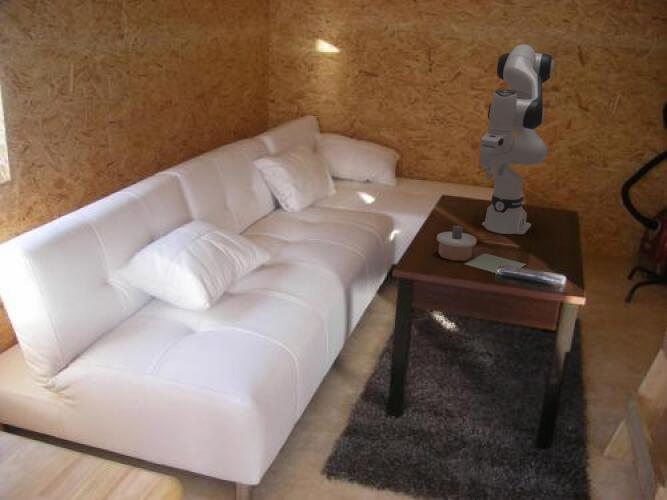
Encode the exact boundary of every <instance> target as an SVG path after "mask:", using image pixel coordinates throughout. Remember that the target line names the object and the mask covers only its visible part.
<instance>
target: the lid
mask: <svg viewBox="0 0 667 500" xmlns="http://www.w3.org/2000/svg"><path fill="white" fill-rule="evenodd" d="M463 229H464V227H463V226H461V225H453V226H452V231H443V232H440V233H438V234H437V236H436V241H437V242H438V243H442V244H444V245H448V246H453V247H470V246H475V245H477V238H476V236H473V235H472V234H469V233H465V232H464V231H463Z"/></svg>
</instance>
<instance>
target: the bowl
mask: <svg viewBox="0 0 667 500" xmlns="http://www.w3.org/2000/svg"><path fill="white" fill-rule="evenodd" d="M438 243H439V244H438V245H439V246H438V251H437V252H438V255H439V256H440V257H441V258H443V259H446V260H450V261H467V260H469V259H472V254H473V246H470V247H453V246H448V245H444V244H442V243H440V242H438Z"/></svg>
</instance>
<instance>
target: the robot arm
mask: <svg viewBox="0 0 667 500" xmlns="http://www.w3.org/2000/svg"><path fill="white" fill-rule="evenodd" d="M553 59H554V58H553V56H552V55H551V54H548V53H538V52H535V50H534V48H533V47H532V46H530V45H529V44H518V45H516V46H515V47H514V48H513V49H512V50H511V52H506V53H503V54H501V55H500V56H499V57H498V59H497V62H496V65H495V71H496V75H497V77H498V78H499V79H500V80H503V81H504V83H505V84H506V85H507V86H508V87H509V89H508V88H505V89H504V88H501V89H497V90H495V91H494V93H493V95H492V99H491V102H490V104H489V106H488V111H487V113H488V114H487V118H488V120H489V123H488V126H487V131H486V132H485V134H484V135H483V136H482V137H481V138H480V140H479V145H480V148H479V155H478V156H479V157H478V164H479V167H480V168H484V172H485V180H488V181H489V180H492V179H493V175H494V182H493V186H494V187H493V194H492V195H491V202H490V205H489V206H487V208H486V214H485V219H484V221H483V222H481V226H483V227H484V228H485V229H486V230H487V231H490V232H493V233H496V234H503V235H525V234H526V233H527V232H528V230H529V229H530V228H531V226H532V223H530V222H527V217H528V216H527V215H528V213H527V212H526V211H525V209H524V208H523V202H524V201H525V196H522V190H523V185H524V180H523V177H522V176H521V175H520V174H519V173H518V172H516V171H514V170H513V169H512V168H511V165H510V164H512V165H513V164H514V165H516V164H517V165H522V166H523V165H525V166H533V165H540V164H541V163H542V162H544V161H545V158H546V157H547V154H548V148H547V145H546V142H545V141H544V140H543V139H542V138H540V136H539V135H538V134H537V131H536V130H535V129H537V128H539V127H540V126H541V125H542V124H543V122H544V119H545V108H544V101H543V99H544V98H543V84H544V83H546V82H547V81H549V79H550V78H551V77H552V74H553V73H554V69H555V62H554V60H553ZM514 131H515V132H514ZM514 133H517V135H514ZM492 172H493V173H492Z"/></svg>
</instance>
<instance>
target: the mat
mask: <svg viewBox="0 0 667 500" xmlns="http://www.w3.org/2000/svg"><path fill="white" fill-rule="evenodd" d="M464 265H465V266H470V267H473V268H477V269H481V270H483V271H488V272H491V273H494V274H497V269H498V267H499V266H500V265H510V266H514V267H518V268H519V269H521V268H523V267H524V266H526V265H527V264H526V263H523V262H519V261H515V260H512V259H509V258H504V257H501V256H498V255H497V256H496V255H493V254H489V253H483V254H481V255H479V256H477V257H474V258H473V259H471V260H469V261H467V262H465V263H464Z"/></svg>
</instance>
